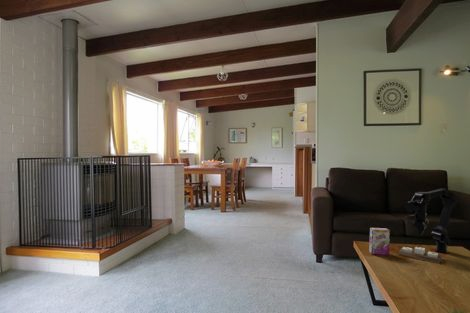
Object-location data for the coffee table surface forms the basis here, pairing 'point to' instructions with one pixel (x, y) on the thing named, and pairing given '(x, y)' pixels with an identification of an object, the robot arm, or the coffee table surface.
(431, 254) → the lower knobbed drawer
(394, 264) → the coffee table surface
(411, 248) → the three pip tile
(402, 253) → the brown dotted block frame
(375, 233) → the candy bar box
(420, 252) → the two pip tile
